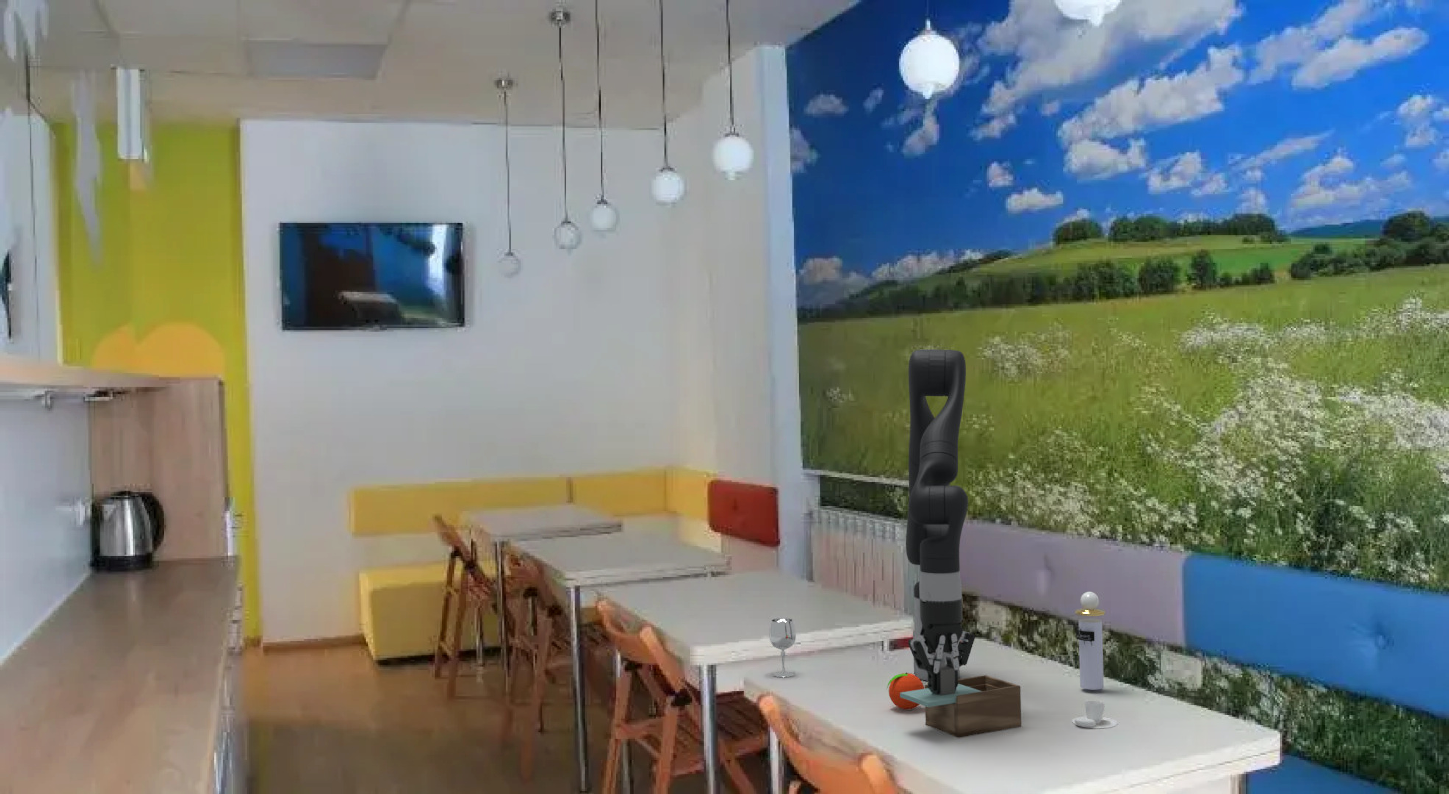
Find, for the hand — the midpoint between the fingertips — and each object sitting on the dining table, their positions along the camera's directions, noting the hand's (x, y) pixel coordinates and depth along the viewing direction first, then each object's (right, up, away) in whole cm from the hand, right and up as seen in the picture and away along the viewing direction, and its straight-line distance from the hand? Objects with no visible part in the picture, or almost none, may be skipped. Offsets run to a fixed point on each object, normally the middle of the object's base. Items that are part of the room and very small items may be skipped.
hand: (943, 691), depth 222 cm
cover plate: (0, -1, 0) cm, 1 cm away
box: (+6, -7, +3) cm, 10 cm away
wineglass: (-27, -8, +47) cm, 55 cm away
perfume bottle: (+35, -6, +26) cm, 44 cm away
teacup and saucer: (+25, -7, +4) cm, 27 cm away
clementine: (-5, -8, +16) cm, 18 cm away
